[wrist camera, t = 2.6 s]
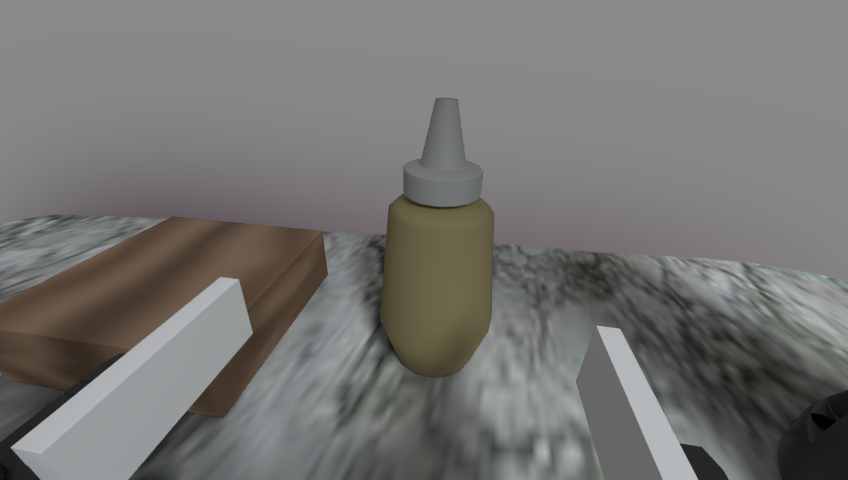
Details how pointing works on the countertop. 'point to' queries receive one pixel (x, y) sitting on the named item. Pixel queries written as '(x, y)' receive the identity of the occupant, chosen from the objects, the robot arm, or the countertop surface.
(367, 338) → the countertop surface
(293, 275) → the walnut plinth
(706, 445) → the countertop surface
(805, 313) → the countertop surface
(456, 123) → the squeeze bottle
